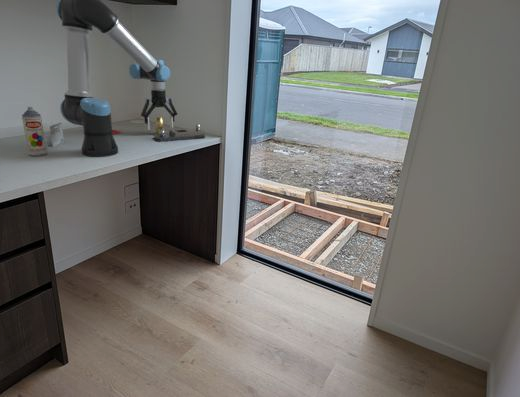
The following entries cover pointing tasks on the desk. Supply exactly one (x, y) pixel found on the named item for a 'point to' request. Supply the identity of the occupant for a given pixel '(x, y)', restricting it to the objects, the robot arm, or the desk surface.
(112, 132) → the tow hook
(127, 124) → the desk surface
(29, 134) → the aerosol can
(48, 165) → the desk surface
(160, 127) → the brass pin
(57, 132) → the ink cartridge box
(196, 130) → the door bolt
